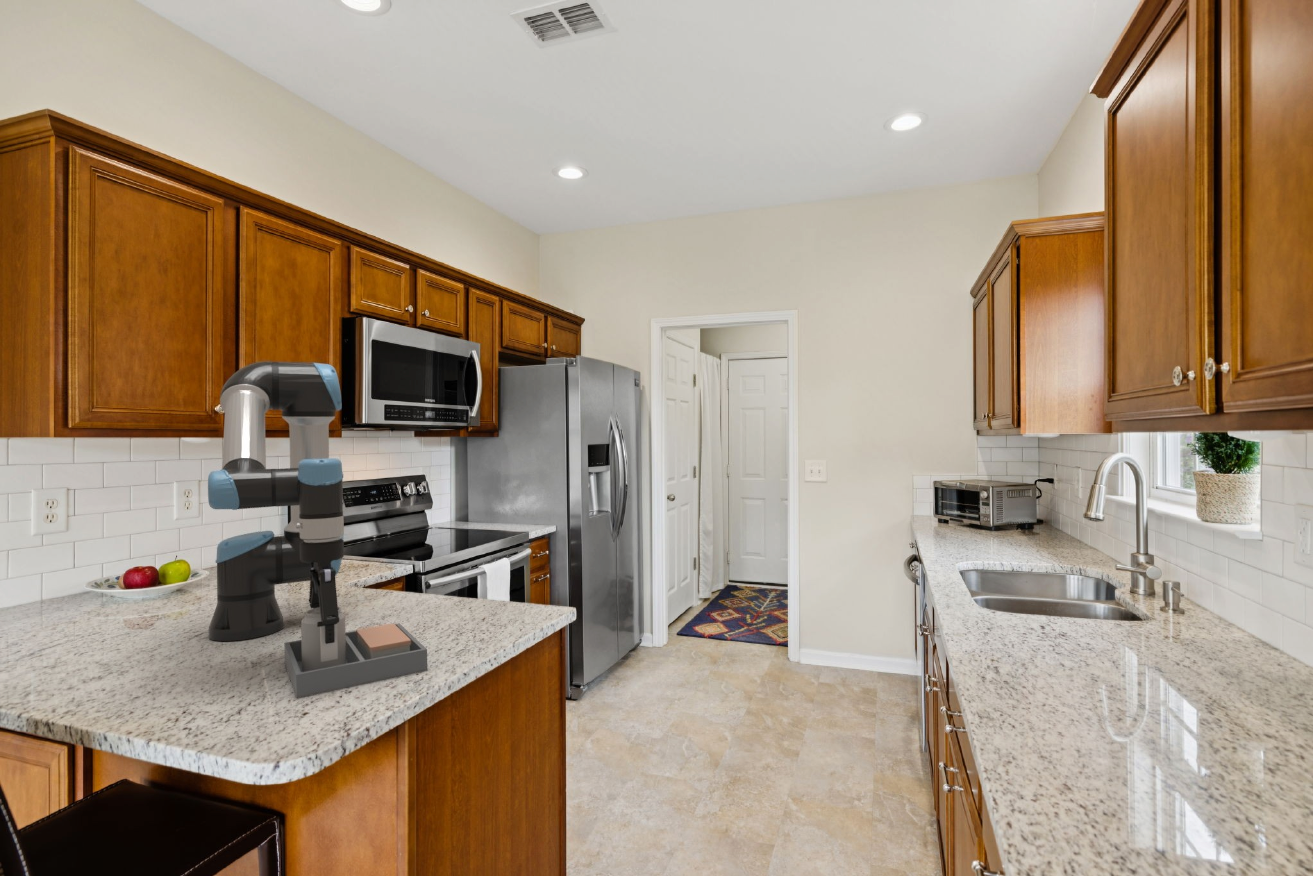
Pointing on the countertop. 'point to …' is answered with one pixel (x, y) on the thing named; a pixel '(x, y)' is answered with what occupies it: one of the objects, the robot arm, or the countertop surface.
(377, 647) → the two-tone square sponge
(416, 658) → the tray
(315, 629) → the can
